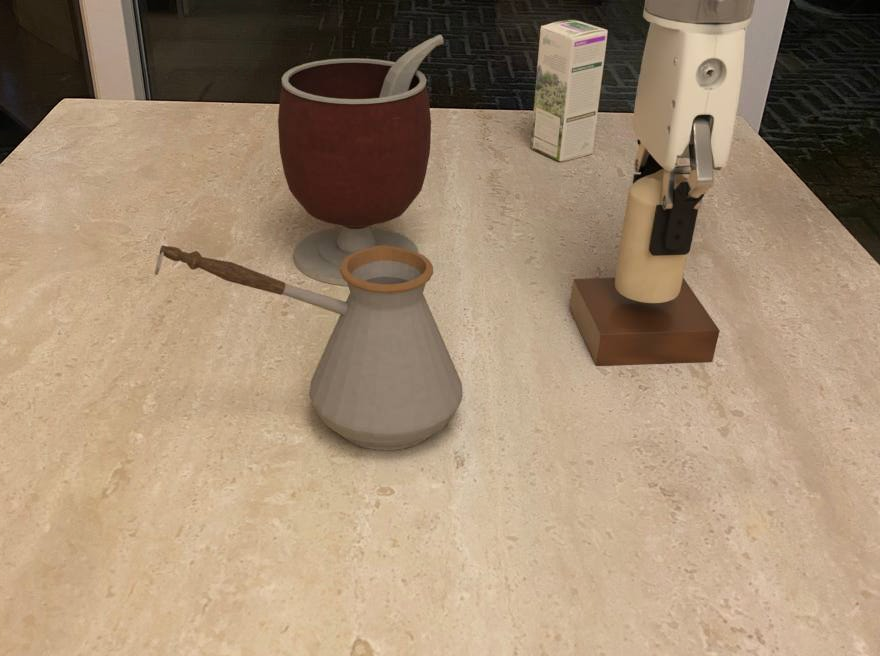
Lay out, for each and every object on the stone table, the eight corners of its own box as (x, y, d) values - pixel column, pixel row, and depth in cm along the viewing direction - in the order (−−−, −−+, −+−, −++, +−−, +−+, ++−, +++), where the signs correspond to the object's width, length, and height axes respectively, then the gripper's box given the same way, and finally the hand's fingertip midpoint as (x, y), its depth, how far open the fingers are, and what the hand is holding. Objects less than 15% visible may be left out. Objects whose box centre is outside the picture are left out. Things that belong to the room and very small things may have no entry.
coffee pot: (448, 377, 81) (457, 200, 72) (473, 461, 72) (486, 271, 63) (183, 391, 79) (157, 210, 70) (174, 479, 70) (143, 285, 61)
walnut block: (676, 305, 92) (682, 275, 90) (712, 361, 84) (720, 330, 82) (569, 308, 91) (573, 278, 89) (595, 366, 83) (600, 334, 81)
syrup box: (594, 154, 123) (611, 28, 114) (558, 163, 120) (572, 35, 111) (563, 140, 126) (577, 17, 117) (527, 149, 124) (539, 23, 115)
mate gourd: (314, 300, 92) (305, 74, 79) (267, 241, 101) (252, 31, 89) (465, 272, 97) (478, 54, 84) (406, 217, 107) (410, 16, 94)
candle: (630, 268, 88) (649, 156, 82) (690, 285, 85) (713, 171, 79) (602, 292, 84) (620, 176, 78) (664, 310, 82) (686, 192, 76)
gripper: (799, 28, 64) (738, 283, 76) (710, -29, 78) (669, 195, 89) (686, 29, 64) (641, 286, 75) (616, -28, 77) (587, 197, 88)
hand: (657, 234), depth 82 cm, fingers closed on candle, 5 cm apart
